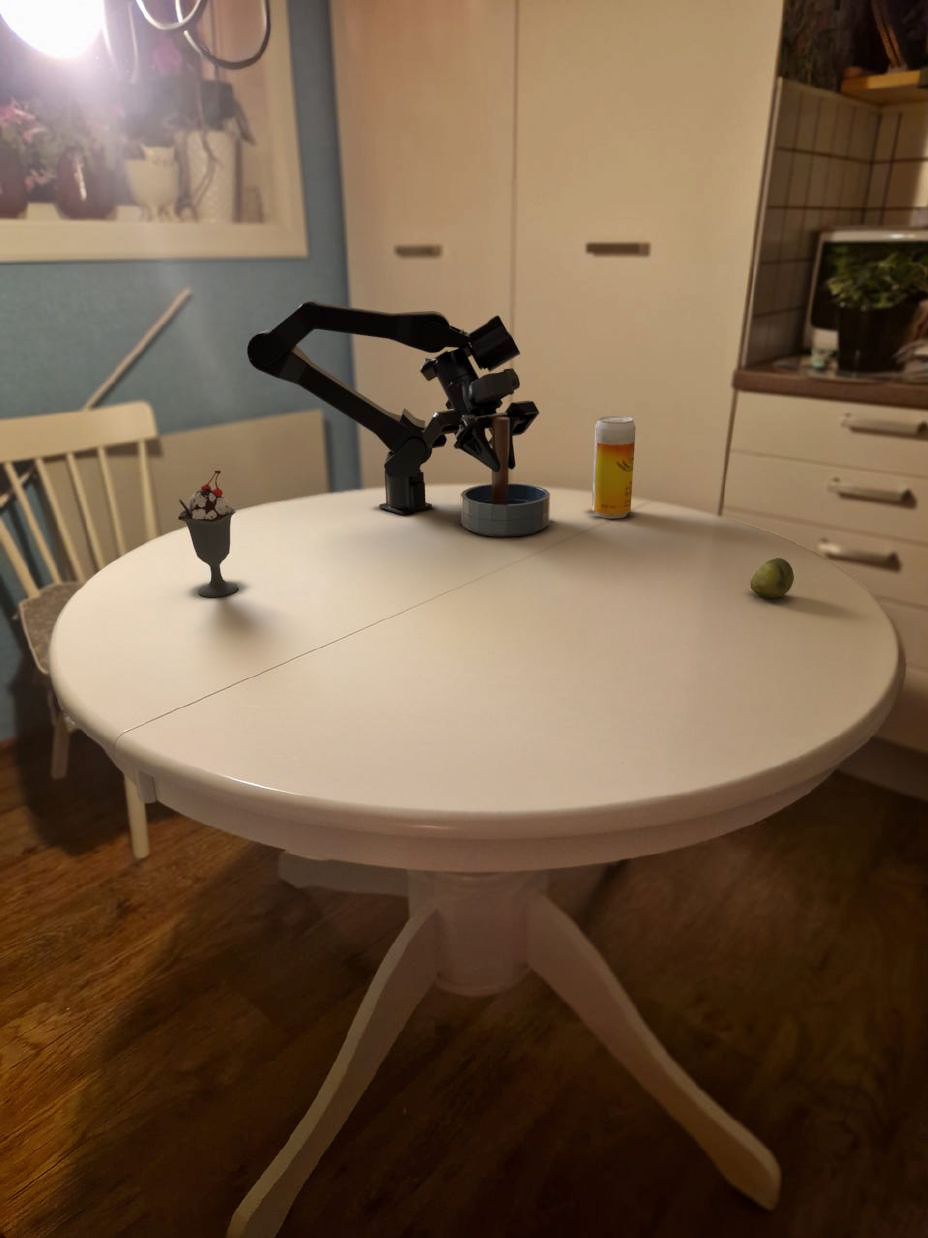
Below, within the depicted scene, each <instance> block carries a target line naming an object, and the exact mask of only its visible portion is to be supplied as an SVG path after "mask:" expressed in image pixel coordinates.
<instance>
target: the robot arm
mask: <svg viewBox="0 0 928 1238" xmlns="http://www.w3.org/2000/svg"><path fill="white" fill-rule="evenodd" d="M314 330H320V331H328V332H329V331H330V332H334V333H335V332H336V333H342V334H343V333H344V334H351V335H358V336H364V337H371V338H379V339H387V340H391V341H394V342H397V343H398V344H402V345H404V346H407V347H410V348H413V349H416V350H419V351H421V352H425V353H429V354H436V353H440V352H442V351H443V350H444V349H445V348H452V349H453V348H455V349H453V350H450V351H448V350H445V351H443V352H442V353H440V354H438V355H437V356H435V357H434V358H433V357H432V358H428V357H426V358H424V360H423V364H422V365H421V368H420V370H419V372H420V374H421V375H422V376H423V378H424V379H425V380H426V381H427V382H430V381H432V380H435V378H437V380H438V382H439V384H440V386H441V388H442V390H443V392H444V393H445V395H446V397H447V401H446V402H445V404H444V405H445V407H446V409H447V410H442V411H441V410H440V411H435V412H434V413H433V416H432V417H431V419H430V421H428V424H427V425H426V420H423V419H420V418H418V417H416V416H415V415H413V413H411V412H410V411H409V410H408V409H407V408H403V409H402V412H401V415H400V414H397V413H394V412H391V411H388V410H387V409H385V408H383V407H382V406H380V405H379V404H378V403H376V402H374V401H372V400H371V399H369V398H368V397H366V396H365V395H363V394H362V393H360V392H358V391H357V390H355V389H354V388H353V387H351V386H350V385H348V384H347V383H345V382H344V381H342V380H340V379H338V378H337V377H336V376H334V375H332V374H331V373H329V372H328V371H326V369H323V368H322V367H321V366H319V365H317V364H315V363H314V361H312V360H311V359H310V358H309V357H308V355H306V353H305V352H304V351H303V350H302V349H301V348H300V347H299V346H298V344H299V343H300V342H302V341H303V340H304V339H305V338H307V336H309V335H310V334H311V333H312V332H314ZM246 352H247V357H248V361H249V363H250V364H251V366H252V367H253V368H254V369H256V370H258V371H259V372H262V373H264V374H266V375H269V376H271V377H273V378H276V379H279V380H282V381H286V382H287V383H290V384H294V385H296V386H299V387H301V388H302V389H304V390H306V391H307V392H309V393H310V394H312V395H314V396H315V397H317V398H318V399H320V400H321V401H322V402H324V403H326V404H328V405H329V406H331V407H332V408H334V409H335V410H337V411H338V412H340V413H342V414H343V415H344V416H346V417H348V418H349V419H351V420H352V421H354V422H356V423H357V424H359V425H360V426H361V427H363V428H365V429H366V430H368V431H370V432H371V433H373V434H374V435H375V436H376V437H377V438H378V439H379V440H380V441H381V442H382V443H383V445H384V446H385V447H386V448H387V449H388V450H389V451H388V452H387V453H386V457H385V460H384V464H383V468H384V485H385V486H384V488H385V502H383V503H379V505H378V508H379V509H382V510H385V511H388V512H392V513H395V514H400V515H408V514H411V513H415V512H419V511H422V510H426V509H430V508H433V504H432V503H430V502H426V501H427V500H426V482H425V476H424V474H425V473H424V471H422V469H421V466H422V465H423V464H425V463H427V462H428V461H429V459H431V457H432V454H433V449H437V448H443V447H445V445H446V444H447V441H448V438H447V436H446V435H450V434H454V436H455V439H456V441H455V442H454V443H453V448H454V449H455V450H461V451H463V452H464V453H465V454H468V456H471V457H473V458H474V459H476V460H477V461H478V462H480V463H481V464H483V465H484V466H485V467H487V468H489V470H490V471H492V470H493V471H494V472H498V471H499V470H500V465H499V463H498V460H497V458H496V456H495V454H494V452H493V450H492V418H494V417H508V418H509V419H510V421H509V470H512V471H513V470H514V469H515V468H516V458H515V449H514V439H513V437H515V436H516V437H517V436H521V435H523V434H524V433H526V432H527V430H528V429H529V428H530V427H531V425H532V423H533V422H534V421H535V420H536V418H538V416H539V414H540V410H539V409H538V407H537V406H536V404H535V402H534V401H533V400H521V401H513V402H511V403H510V404H509V405H508V407H507V409H506V410H505V411H504V412H497V409H500V408H501V407H502V405H503V404H504V402H503V401H502V399H504V398H506V397H508V396H513V394H515V391H516V390H518V389H519V388H520V386H521V382H520V378H519V375H518V374H517V372H516V371H515V369H514V368H513V367H512V368H504V369H503V370H502V371H499V372H493V371H494V370H496V369H498V368H500V367H501V366H503V365H505V364H507V363H508V362H510V361H512V360H513V359H515V358H516V357H519V356H520V355H521V352H520V350H519V347H518V345H517V344H516V341H515V340H514V338H513V336H512V334H511V333H510V332H509V331H508V329H507V328H506V326H505V324H504V322H503V321H502V318H501V317H500V315H498V314H496V315H494V316H493V317H491V318H490V319H489V320H487V322H485V323H483V324H482V325H480V326H479V327H478V328H476V329H474V330H473V331H471V332H467V331H465V329H463V328H462V329H461V328H458V327H455V326H453V325H451V324H450V321H449V320H448V318H447V316H445V315H444V314H443V313H442V312H439V311H435V310H427V311H425V310H423V311H408V312H386V311H378V310H372V309H365V308H357V307H350V306H343V305H336V304H328V303H323V302H322V303H321V302H319V301H317V300H307V301H305V302H302V303H301V304H300V305H299V306H298V308H297V309H296V310H295V311H293V313H291V314H290V315H289V316H288V317H286V318H285V319H284V320H283V321H281V322H280V323H279V324H278V325H276V326H275V327H274V328H272V329H267V330H264V331H261V332H259V333H257V334H255V335H254V336H252V337H251V339H250V340H249V341H248V344H247V349H246ZM470 357H472V359H473V360H474V362H475V364H476V366H477V367H478V369H479V370H480V371H482V370H483V371H484V370H488V372H489V373H487V374H484V375H481V376H480V377H479V375H478V373H477V371H476V369H475V368H474V366H473V364H472V362H471V360H470ZM491 372H492V373H491ZM486 430H487V431H489V433H490V435H491V437H490V439H489V440H488V438H487V435H486Z"/></svg>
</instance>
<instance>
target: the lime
mask: <svg viewBox="0 0 928 1238" xmlns="http://www.w3.org/2000/svg"><path fill="white" fill-rule="evenodd" d="M794 580H795V575H794V569H793V567H792V565H791V564H790V562H788V561H787V560H786V559H783V558H781V557H776V558H772V559H769V560H767V561H766V562H765V563H764V564H763V565H761V566H759V568H758V569H757V570H756V571H755V572H754V574H753V575H752V578H751V580H750V589H751V591H752V592H753V593H755V594H756V595H758V596H760V597H762V598H765V599H774V598H779V597H782V596H784V595H786V594H787V593H788V592H789V591H790V590H791V589H792V587H793V584H794Z"/></svg>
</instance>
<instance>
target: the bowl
mask: <svg viewBox="0 0 928 1238" xmlns="http://www.w3.org/2000/svg"><path fill="white" fill-rule="evenodd" d="M491 499H492V483H487V484H480V485H476V486H472V487H468V488H466V489H464V490H463V491H462V492H461V493H460V523H461V525H462V526H463V528H466V529H467V530H469V531H471V532H473V533H475V534H478V535H482V536H486V537H487V536H489V537H498V538H510V537H522V536H527V535H532V534H535V533H537V532H539V531H542V530H543V529H545V528H547V526H549V524H550V513H551V512H550V511H551V509H550V507H551V493H550V492H549V490H547V489H545V488H543V487H541V486H537V485H532V484H526V483H516V482H514V483H513V482H509V492H508V505H503V504H491Z"/></svg>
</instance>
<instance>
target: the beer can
mask: <svg viewBox="0 0 928 1238" xmlns="http://www.w3.org/2000/svg"><path fill="white" fill-rule="evenodd" d="M597 420H598V421H597V422H596V424H595V426H594V447H593V448H594V450H593V451H594V452H593V453H594V454H593V473H592V475H593V476H592V477H593V478H592V494H591V495H592V497H591V499H592V500H591V510H592V512H593V513H594V515H595V516H596V517H599V518H603V519H623V518H625V517H627V516H628V514H629V512H631V511H632V509H631V508H632V494H633V478H634V477H633V476H634V461H635V443H636V428H637V427H636V424H635V422H634V418H633V417H629V416H624V415H623V416H622V415H607V416H600V417H599V418H598V419H597Z"/></svg>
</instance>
